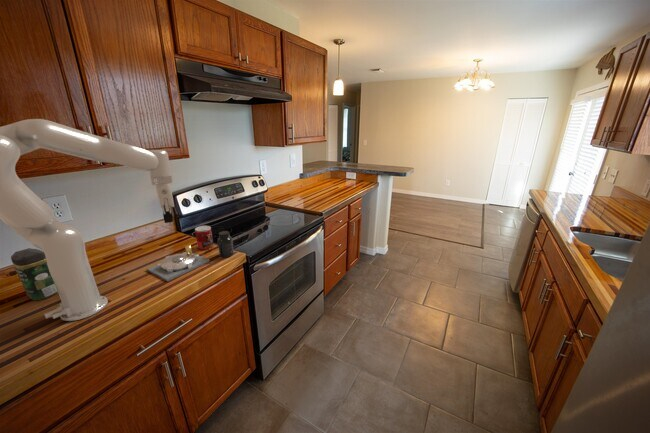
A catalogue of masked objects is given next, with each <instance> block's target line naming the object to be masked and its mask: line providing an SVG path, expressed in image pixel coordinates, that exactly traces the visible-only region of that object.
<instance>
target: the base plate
mask: <svg viewBox="0 0 650 433" xmlns="http://www.w3.org/2000/svg"><path fill="white" fill-rule="evenodd" d="M192 254H193V255H197V257H198V260H196V261H195V263H194V264H193V265H192V266H193V267H191V268H189V269H188V268H186V269H183V270H180V271H174V272H173V273H168V272H167V271H164V270H162V268H161V269H160V270H159V268H158V264H159V263H160V264H161V262H159V263H157V264H155V265H152V266H149V267H147V268H146V271H147V272H149V273H151V274H153V275H155V276H157V277H158V278H160V279H162V280H164V281H166V282H169V281H172V280H174V279H176V278H178V277H180V276H182V275H185V274H187V273H189V272H192V271H193V270H195V269H197V268H199V267H201V266H203V265H205V263H206V264H208V263H210V262H211V260H210V259H209V258H207V257H204V256H201V255H199V254H196V253H193V252H192ZM209 261H210V262H209ZM207 262H208V263H207Z"/></svg>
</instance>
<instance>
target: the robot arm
mask: <svg viewBox="0 0 650 433" xmlns="http://www.w3.org/2000/svg"><path fill="white" fill-rule="evenodd" d="M39 149H44V150H48V151H52V152H56V153H61V154H66V155H68V156H73V157H77V158H81V159H85V160H90V161H94V162H99V163H110V164H116V165H120V166H121V165H122V166H124V167H126V168H128V169H130V170H132V171H133V170H134V171H143V172H149V175H150V183H151V185H152V186H155V189H156V195H157V199H158V203H159V205H160V208H161V209H162V212H163V214H162V216H163V221H164V223H165V224H168V223H173V222H174V219H173V213H172V209H171V207H172V208H174V207H175V203H174V202H175V201H174V197H173V192H172V187H171V185H172V184H173V179H172V172H171V165H170V159H169V158H170V157H169V154H168V153H169V152H167V151H166V150H162V149H151V150H147V149H145V148H141V147H138V146H135V145H131V144H128V143H124V142H120V141H117V140H114V139H110V138H108V137H107V138H106V137H104V136H99V135H96V134H93V133H90V132H87V131H83V130H80V129H77V128H75V127H71V126H68V125H65V124H62V123H58V122H54V121H52V120H48V119H44V118H30V119H29V118H27V119H24V120H20V121H16V122H12V123H10V124H6V125H3V126H0V220H1V221H2V222H3V223H4V224H5V225H6V226H8V227H10V229H12V230H13V231H14V232H16V233H17V234H18V235H19V236H20V237H22V238H23V239H24V240H26V241H27V242H29V243H30V244H31V245H32V246H34V247H36V248H37V249H39V250H41V251H43V252H44V254H45V256H46V261H47V265H48V269H49V271H50V274H51V276H52V279H53V281H54V284H55V286H56V289H57V291H58V292H57V294H58V296H59V299H60V301H61V302H59V305H60V306H58V307H56V309H55V308H54V309H53V310H50V311H48V312H45V313H43V315H44V318H45V319H46V320H48V319H51V318H52V319H53V320H55V319H57V318H59V317H60V319H61V320H62V321H65V322H73V321H80V320H83V319H86V318H88V317H89V318H90V317H91V316H93V315H95V314H97V313H99V312H100V311H102V310H103V309H104V308H106V307H107V305H108V302H109V301H108V298H107V297H106V296H104V295H101V294H100V292H99V291H100V290H99V289H98V285H97V282H96V279H95V277H94V273H93V270H92V268H91V265H90V262H89V258H88V255H87V250H86V244H85V239H84V236H83V235H82V233H81V232H80V231H79V230H77V228H75V227H73V226H71V225H68V224H65V223H63V222H60V221H59V220H58V219H57V218H56V217H55V216H54V213H53V209H52V208H51V206H49V204H48V203H46V202H45V201H44V200H43V199H42V198H41V197H39V196H38V195H37V194H36V193H35V192H33V190H32V189H30V187H28V185H26V184H25V182H24V181H23V180H21V178H20V177H19V176H18V174H17V172H16V166H17V165H16V164H17V162H18V161H19V159H20V157H21V156H23V155H25V154H28V153H31V152H34V151H36V150H39Z"/></svg>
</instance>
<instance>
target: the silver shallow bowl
mask: <svg viewBox="0 0 650 433" xmlns="http://www.w3.org/2000/svg"><path fill="white" fill-rule="evenodd" d="M184 248H185V252H184V251H183V252H182V253H176V254H172V255H167V256H165V257H164V259H162V260H161V261H160V262H159V263H157V264H158V268H159V270H160V269H161V268H162V270H164V271H167V272H168V273H173V272H174V271H180V270H183V269H186V268H188V269H189V268H191V267H193V266H192V265H193V264H194V263H195V261H196V260H198V257H197V255H198V254H196V255H193V254H192V253H193V250H192V246H191V244H190V245H189V244H187V245H184ZM160 263H161V264H160Z"/></svg>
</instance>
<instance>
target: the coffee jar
mask: <svg viewBox="0 0 650 433" xmlns="http://www.w3.org/2000/svg"><path fill="white" fill-rule="evenodd" d="M10 259H11V262H12V265H13V267H14V269H15V272H16V273H17V276H18V278H19V280H20V283H21V285H22V287H23V289H24V292H25V293H26V295H27V297H28V298H29V299H31V300H33V301H41V300H44V299H47V298H50V297H53V296H54V295H55V294H58V291H57V289H56V286H55V284H54V281H53V279H52V276H51V274H50V271H49V269H48V265H47V261H46V256H45V254H44V251H43V250H41V249H39V248H30V247H29V248H26V249H21V250H17V251H15V252H14V253H13V254H11V256H10Z"/></svg>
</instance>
